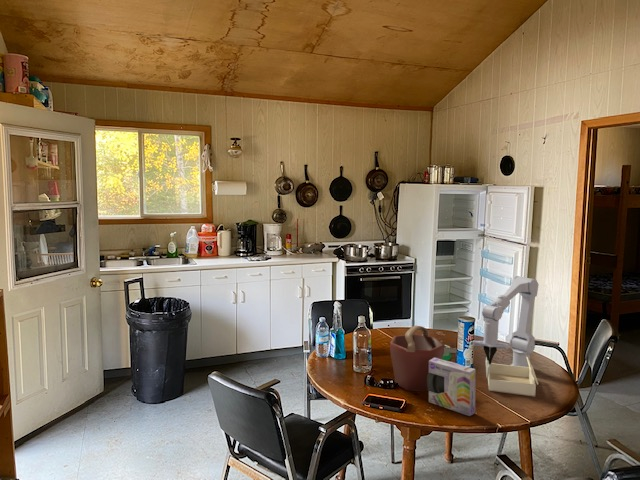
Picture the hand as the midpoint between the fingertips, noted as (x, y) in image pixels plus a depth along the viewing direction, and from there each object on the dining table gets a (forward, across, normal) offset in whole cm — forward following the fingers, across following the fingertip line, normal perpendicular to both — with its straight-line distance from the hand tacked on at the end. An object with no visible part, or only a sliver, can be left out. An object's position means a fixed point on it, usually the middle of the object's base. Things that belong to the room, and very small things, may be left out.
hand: (489, 363), depth 216 cm
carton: (+8, +9, 0) cm, 12 cm away
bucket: (+9, -31, -12) cm, 34 cm away
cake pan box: (+9, -15, -30) cm, 35 cm away
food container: (+9, -20, +14) cm, 26 cm away
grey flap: (+1, 0, 0) cm, 1 cm away
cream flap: (+1, +17, 0) cm, 17 cm away
